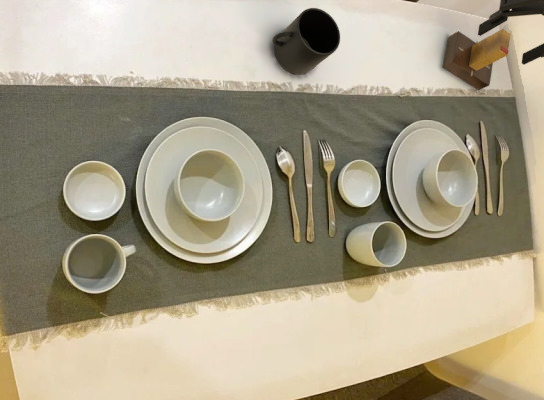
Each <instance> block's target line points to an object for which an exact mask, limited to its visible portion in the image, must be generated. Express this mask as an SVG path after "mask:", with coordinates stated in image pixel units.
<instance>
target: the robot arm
mask: <svg viewBox="0 0 544 400" xmlns="http://www.w3.org/2000/svg"><path fill="white" fill-rule="evenodd" d="M536 15H542V16H543V17H544V0H500V1H499V8H498V10H497V11H495V12H493V13H492V14H490V15H489V17H488V19H486V20H485V21H483V22H481V23H480V24H478V25H479V26H478V31H477V35H478V36H479V37H482V36H483V35H485V34H487V33H488V32H490V31H491V30H494V29H495V28H497V27H498V26H501V25H502V24H503V23H505V22H507V21H508V19H509V18H510V17H523V16H536ZM539 58H544V42H543V43H541V44H539V45H537V46H534V47H533V48H531V49H529V50H527V51H525V52H524V53H522V58H521V64H522V65H526V64H529V63H531V62H534V61H535V60H537V59H539Z"/></svg>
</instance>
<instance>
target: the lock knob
mask: <svg viewBox="0 0 544 400" xmlns="http://www.w3.org/2000/svg"><path fill="white" fill-rule="evenodd" d="M510 41H511V33H510V32H508V31H507V30H506V29H504V28H501V29H499V30H498V31H496V32H494V33H492V34H491V35H489V36H487V37H485V38H484V39H482V40H480V41H478V43H476V42H475V43H476V44H474V45H473V46H472V51H471V56H470V62H469V66H470V67H471V68H473V69H474V70H476V71H477V70H479V69H481V68H483V67H485V66H487V65H489V64H491V63H493V64H494V63H495V62H497V61H499V60H501V59H503V58H505V57H508V55H509V51H510V50H509V48H510Z"/></svg>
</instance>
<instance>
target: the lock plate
mask: <svg viewBox="0 0 544 400" xmlns="http://www.w3.org/2000/svg"><path fill="white" fill-rule="evenodd" d="M478 42H479V41H478V40H476V41H474V40H473V39H471V38H470V37H469V36H466V34H463V32H461V31H459V30H458V31H456V32H455V33H453V34H451V35H450V36H449V35H448V37H447V41H446V46H445V47H446V48H445V52H444V57H443V63H442V69H444V70H446V71H448V72H449V73H450V74H451V75H453V76H456V77H457V78H458V79H460V80H461V81H463V82H465V83H466V84H468V85H469V86H471V87H473V88H474V89H476V90H477V91H481V90H483V89H485V88H487V87H490V84H491V79H492V71H493V65H494V62H493V63H491V64H489V65H487V66H485V67H483V68H481V69H479V70H477V71H476V70H474V69H473V68H471V67H470V66H469V62H470V56H471V51H472V46H473V45H474V44H476V43H478Z"/></svg>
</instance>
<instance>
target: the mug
mask: <svg viewBox="0 0 544 400" xmlns="http://www.w3.org/2000/svg"><path fill="white" fill-rule="evenodd" d="M271 42H272V44H273V45H274V53H275V57H276V59H277V61H278V64H280V66H281V67H282V68H283V69H284V70H285V71H287V72H289V73H290V74H293V75H298V76H299V75H306V74H308V73H310V72H311V71H312V70H313V69H314V68H316V67H317V66H319V64H321V63H322V62H324V61H325V60H327V59H328V58H329V57H330V56H331V55H332V54H334V53H335V52H336V51H337V50H338V48H339V46H340V42H341V33H340V28H339V25H338V24H337V22H336V20H335V19H334V18H333V17H332V16H331V14H330V13H329V12H326V11H325V10H324V9H321V8H318V7H308V8H306V9H304V10H303V11H302V12H301V13H299V14H298V16H296V18H295V19H294V20H293V21H292V22H291V23H290V24H289V25H288V26H287V27H286V28H285V29H283V30H282V32H279V33H277V34H275V35H273V37H272V41H271Z"/></svg>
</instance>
